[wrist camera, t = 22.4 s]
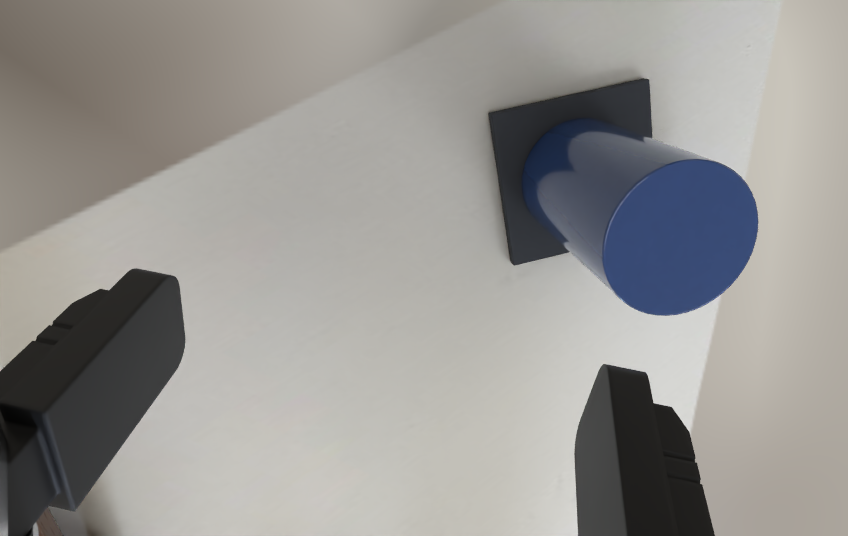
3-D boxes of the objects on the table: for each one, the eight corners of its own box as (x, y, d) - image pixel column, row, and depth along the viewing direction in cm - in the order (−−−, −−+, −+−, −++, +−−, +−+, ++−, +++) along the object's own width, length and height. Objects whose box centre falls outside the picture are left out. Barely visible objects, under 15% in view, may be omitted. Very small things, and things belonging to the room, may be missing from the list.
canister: (504, 218, 32) (577, 297, 23) (546, 102, 31) (643, 138, 21) (607, 245, 34) (714, 330, 25) (653, 136, 32) (787, 184, 23)
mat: (488, 113, 31) (491, 114, 30) (643, 78, 31) (649, 79, 31) (510, 261, 34) (513, 265, 33) (652, 228, 35) (657, 231, 34)
